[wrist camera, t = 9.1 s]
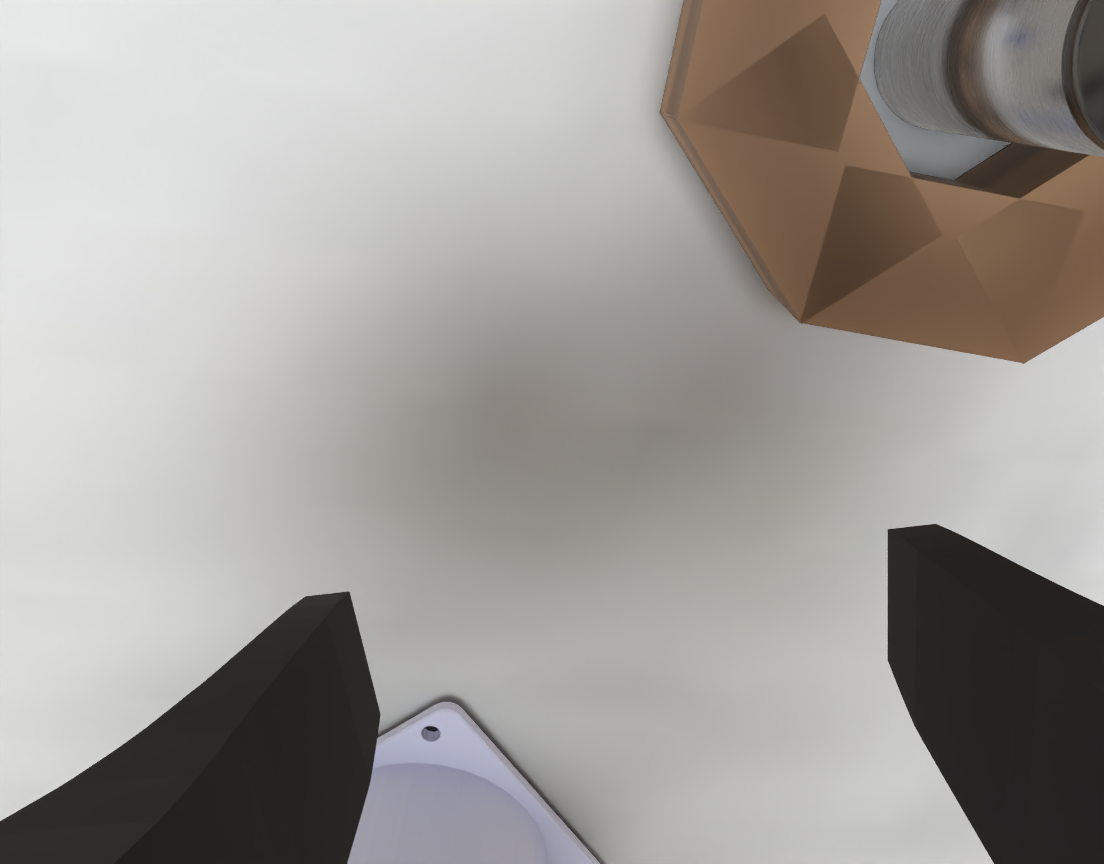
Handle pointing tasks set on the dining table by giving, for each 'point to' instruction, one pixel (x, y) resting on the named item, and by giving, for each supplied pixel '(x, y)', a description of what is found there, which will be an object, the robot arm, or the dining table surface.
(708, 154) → the walnut bead
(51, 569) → the dining table surface
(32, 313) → the dining table surface
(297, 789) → the robot arm
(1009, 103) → the metal cylinder
